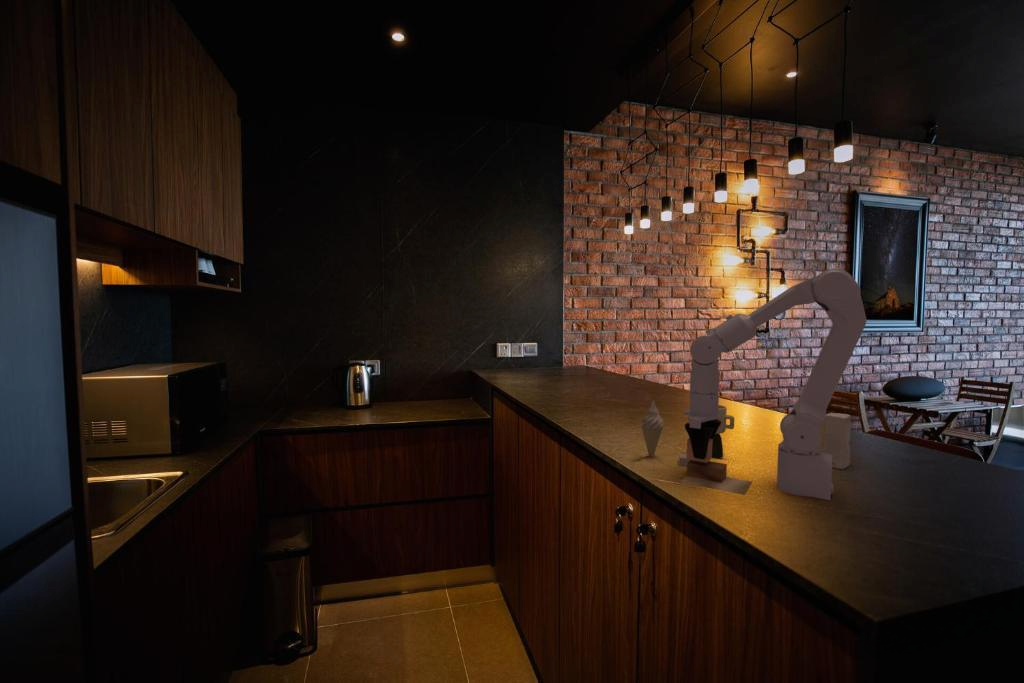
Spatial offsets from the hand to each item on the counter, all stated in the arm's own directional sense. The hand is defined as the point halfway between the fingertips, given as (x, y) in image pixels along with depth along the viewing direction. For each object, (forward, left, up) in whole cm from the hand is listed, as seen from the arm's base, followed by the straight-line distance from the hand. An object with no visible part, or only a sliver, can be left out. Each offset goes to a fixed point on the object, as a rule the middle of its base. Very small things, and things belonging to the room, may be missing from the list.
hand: (702, 455), depth 103 cm
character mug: (+3, -19, -6) cm, 20 cm away
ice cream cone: (+14, -8, -6) cm, 16 cm away
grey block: (+5, -7, -6) cm, 10 cm away
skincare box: (-23, -31, -6) cm, 39 cm away
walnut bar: (-1, 0, -5) cm, 5 cm away
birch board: (-3, +2, -5) cm, 7 cm away
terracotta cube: (+1, 0, -1) cm, 1 cm away
